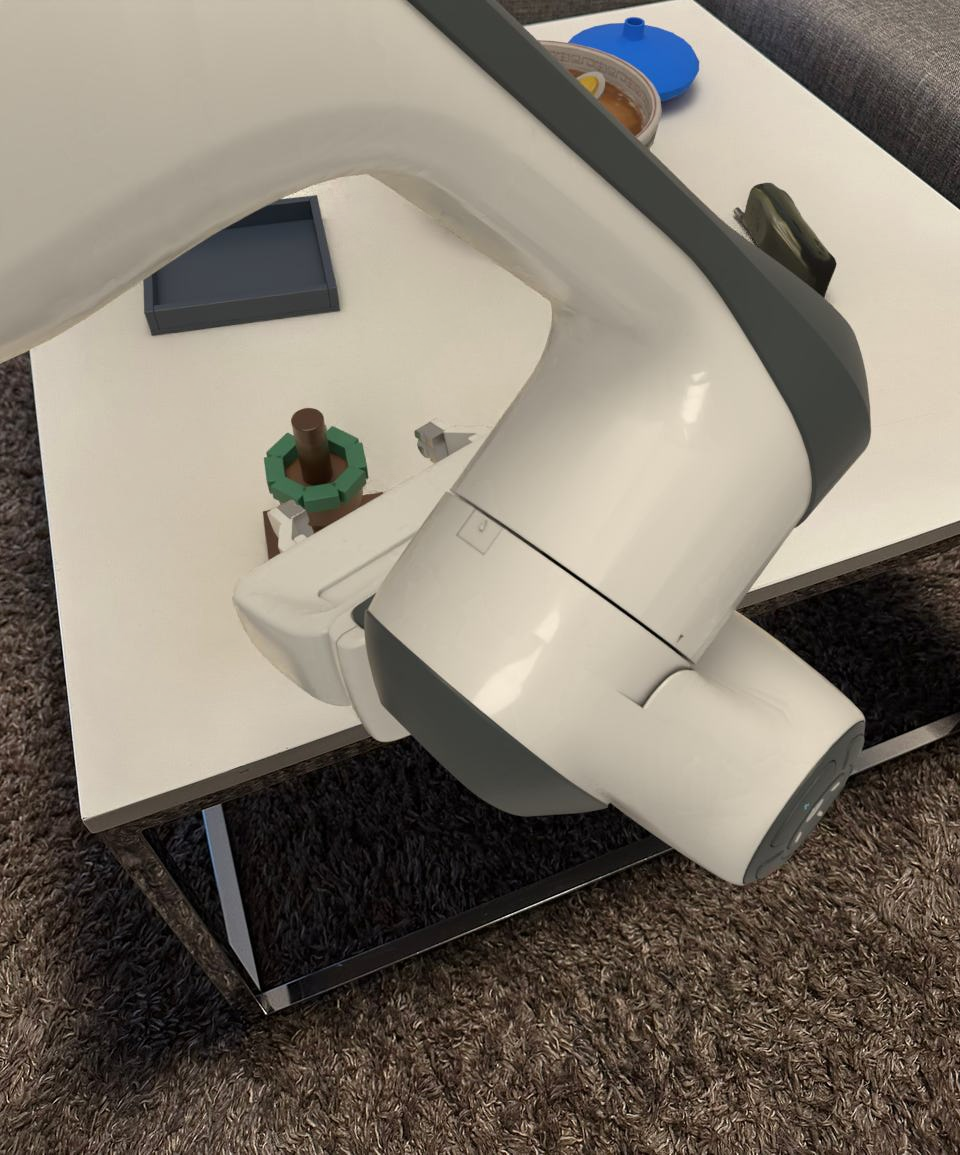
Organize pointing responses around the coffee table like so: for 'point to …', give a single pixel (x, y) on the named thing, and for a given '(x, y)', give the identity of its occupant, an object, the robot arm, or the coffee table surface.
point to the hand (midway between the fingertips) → (356, 473)
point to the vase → (646, 53)
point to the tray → (247, 273)
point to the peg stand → (314, 473)
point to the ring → (319, 494)
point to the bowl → (613, 86)
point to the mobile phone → (787, 236)
